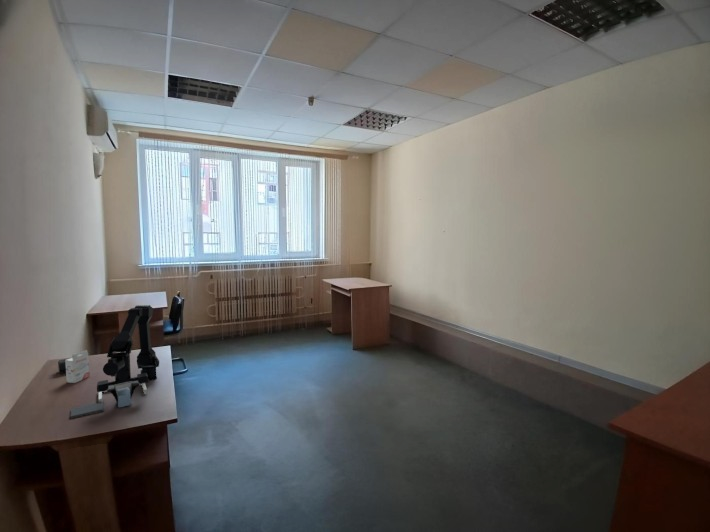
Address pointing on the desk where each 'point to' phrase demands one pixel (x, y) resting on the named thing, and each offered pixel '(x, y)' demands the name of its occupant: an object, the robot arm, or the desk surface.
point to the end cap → (62, 366)
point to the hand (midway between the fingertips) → (124, 400)
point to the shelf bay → (124, 387)
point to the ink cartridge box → (77, 367)
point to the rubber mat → (86, 409)
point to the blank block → (124, 397)
